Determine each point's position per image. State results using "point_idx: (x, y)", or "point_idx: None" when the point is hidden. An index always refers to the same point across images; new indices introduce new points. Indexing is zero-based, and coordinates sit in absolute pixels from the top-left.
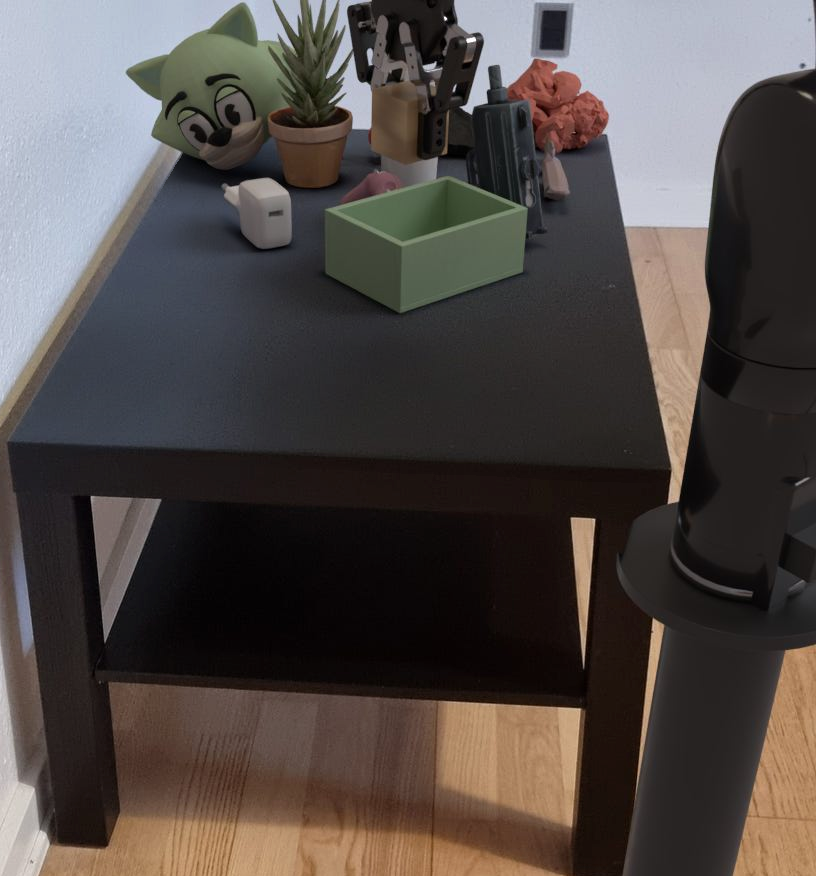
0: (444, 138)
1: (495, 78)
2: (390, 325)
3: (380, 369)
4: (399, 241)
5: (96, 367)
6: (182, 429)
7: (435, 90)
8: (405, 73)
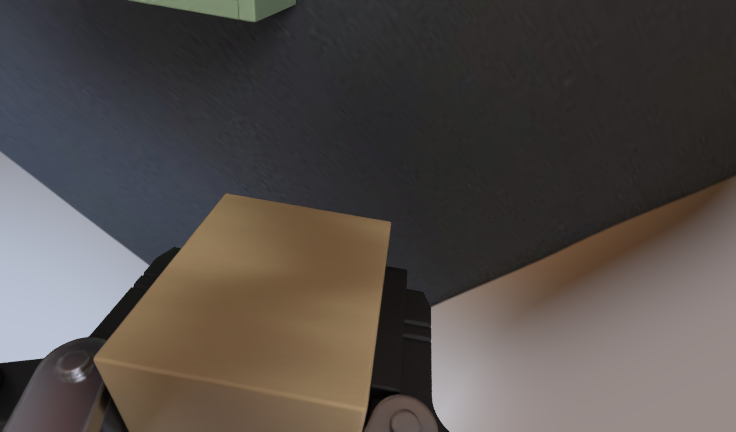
0: (429, 329)
1: None
2: (316, 47)
3: (395, 152)
4: (233, 5)
5: None
6: None
7: (304, 421)
8: (86, 430)
